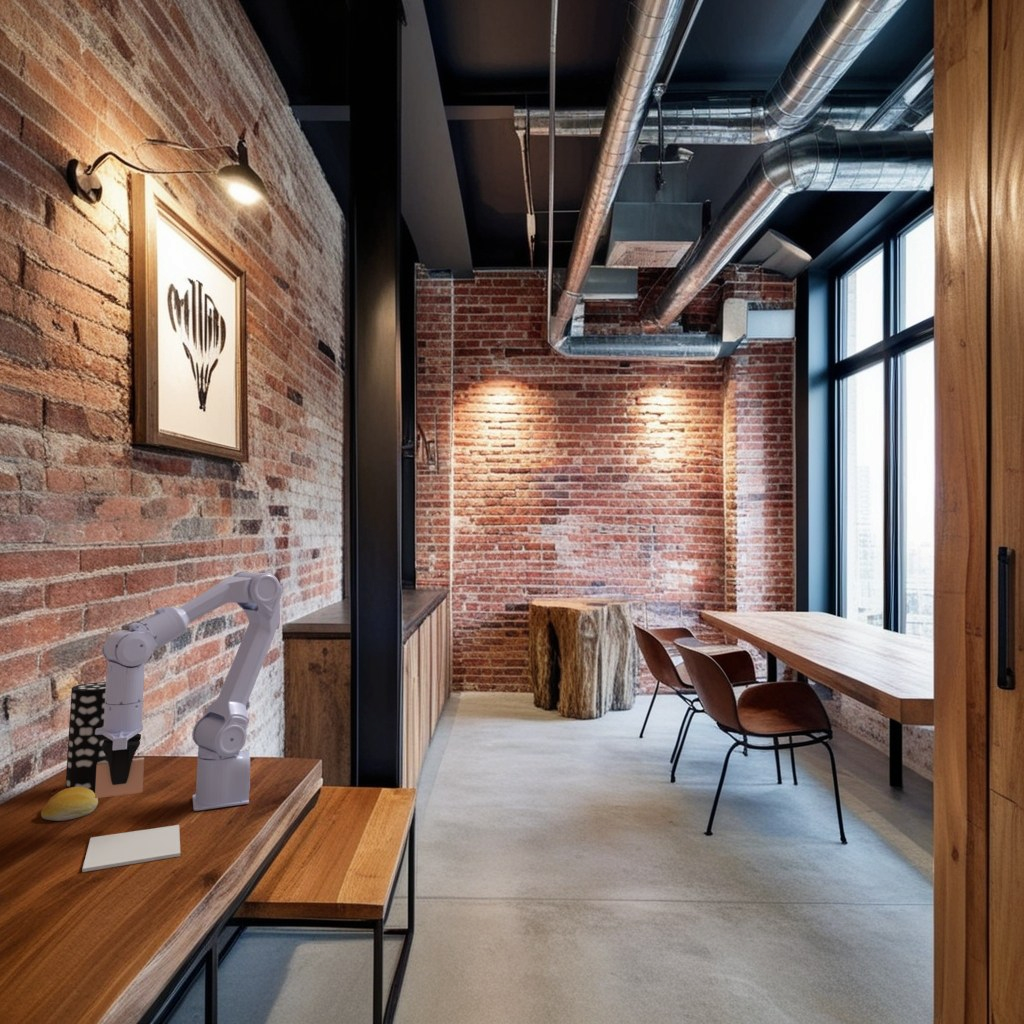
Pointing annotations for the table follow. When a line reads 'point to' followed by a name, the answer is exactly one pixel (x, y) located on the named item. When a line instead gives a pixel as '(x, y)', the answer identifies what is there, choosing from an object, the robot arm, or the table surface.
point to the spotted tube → (85, 735)
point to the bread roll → (70, 804)
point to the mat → (132, 848)
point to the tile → (131, 786)
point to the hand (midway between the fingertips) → (119, 781)
